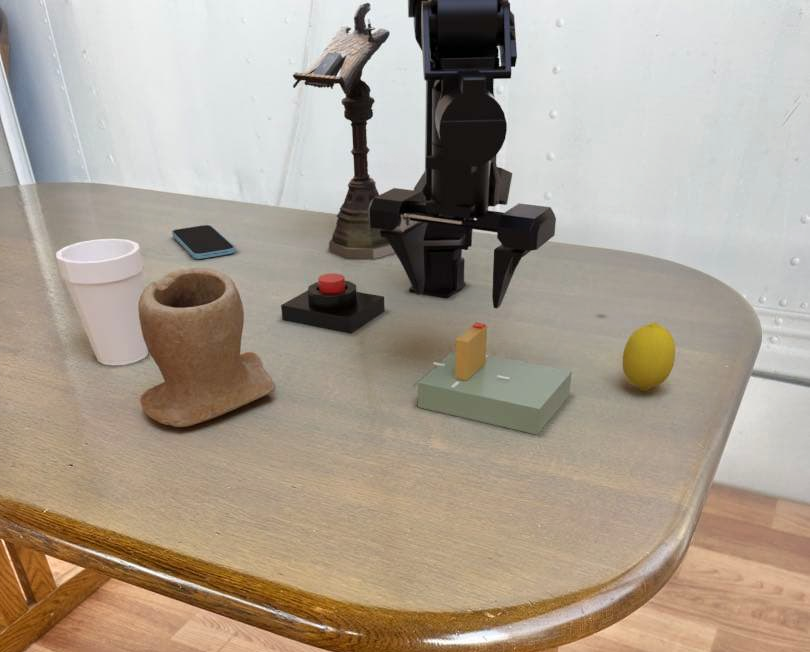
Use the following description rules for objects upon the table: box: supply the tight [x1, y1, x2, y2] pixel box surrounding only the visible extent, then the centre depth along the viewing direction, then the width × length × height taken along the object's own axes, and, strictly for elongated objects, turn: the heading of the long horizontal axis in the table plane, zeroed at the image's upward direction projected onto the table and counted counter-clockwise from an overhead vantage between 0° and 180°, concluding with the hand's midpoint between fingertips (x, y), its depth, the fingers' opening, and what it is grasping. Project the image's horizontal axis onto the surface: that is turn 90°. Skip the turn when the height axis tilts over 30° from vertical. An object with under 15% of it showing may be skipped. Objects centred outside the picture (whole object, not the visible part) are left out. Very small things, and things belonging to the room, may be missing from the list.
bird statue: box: [292, 2, 396, 260], centre depth 124 cm, size 17×13×35 cm
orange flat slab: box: [455, 321, 488, 381], centre depth 88 cm, size 5×1×5 cm, turn 151°
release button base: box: [280, 280, 385, 335], centre depth 111 cm, size 11×9×4 cm
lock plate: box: [417, 350, 573, 436], centre depth 90 cm, size 15×10×3 cm
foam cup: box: [55, 238, 149, 366], centre depth 98 cm, size 10×9×13 cm
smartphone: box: [171, 224, 236, 260], centre depth 139 cm, size 7×1×15 cm
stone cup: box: [138, 267, 276, 428], centre depth 86 cm, size 15×12×15 cm
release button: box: [317, 272, 346, 293], centre depth 109 cm, size 4×4×2 cm
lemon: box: [621, 321, 676, 392], centre depth 90 cm, size 6×6×8 cm
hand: (457, 300), depth 87 cm, fingers open, 9 cm apart
